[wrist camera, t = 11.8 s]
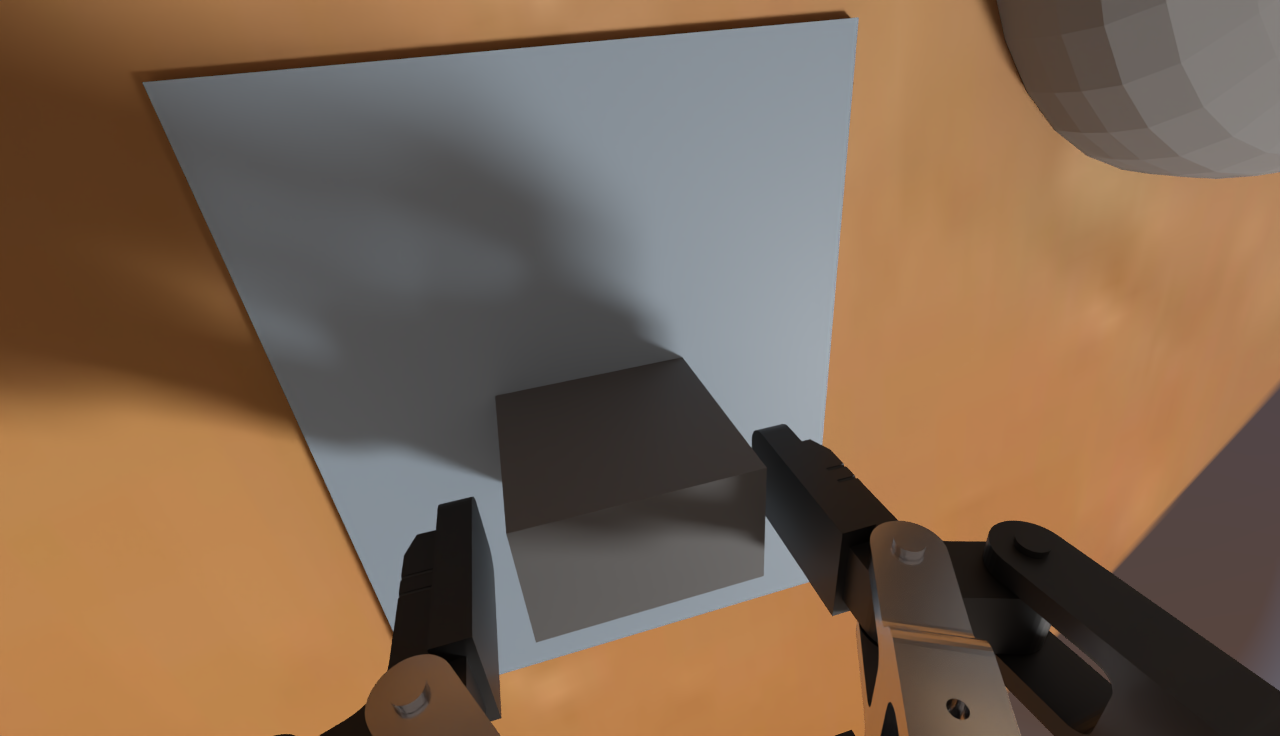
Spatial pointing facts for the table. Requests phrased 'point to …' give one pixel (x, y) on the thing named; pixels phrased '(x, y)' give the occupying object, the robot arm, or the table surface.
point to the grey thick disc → (1155, 80)
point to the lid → (544, 300)
